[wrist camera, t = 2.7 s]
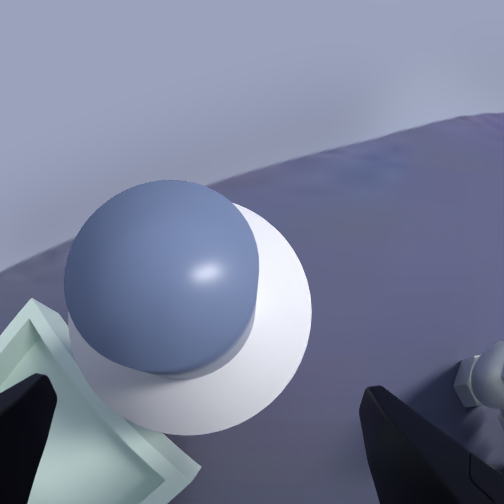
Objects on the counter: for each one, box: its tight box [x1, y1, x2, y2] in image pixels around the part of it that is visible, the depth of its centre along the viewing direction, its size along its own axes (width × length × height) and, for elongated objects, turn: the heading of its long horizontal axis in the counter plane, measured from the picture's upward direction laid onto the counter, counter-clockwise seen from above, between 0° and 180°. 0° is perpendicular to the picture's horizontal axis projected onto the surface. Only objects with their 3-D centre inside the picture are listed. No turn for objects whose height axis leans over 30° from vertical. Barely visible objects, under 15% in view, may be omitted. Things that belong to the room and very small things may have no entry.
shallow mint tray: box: [0, 298, 201, 504], centre depth 12 cm, size 12×12×4 cm
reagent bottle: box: [64, 180, 312, 435], centre depth 11 cm, size 5×5×14 cm
